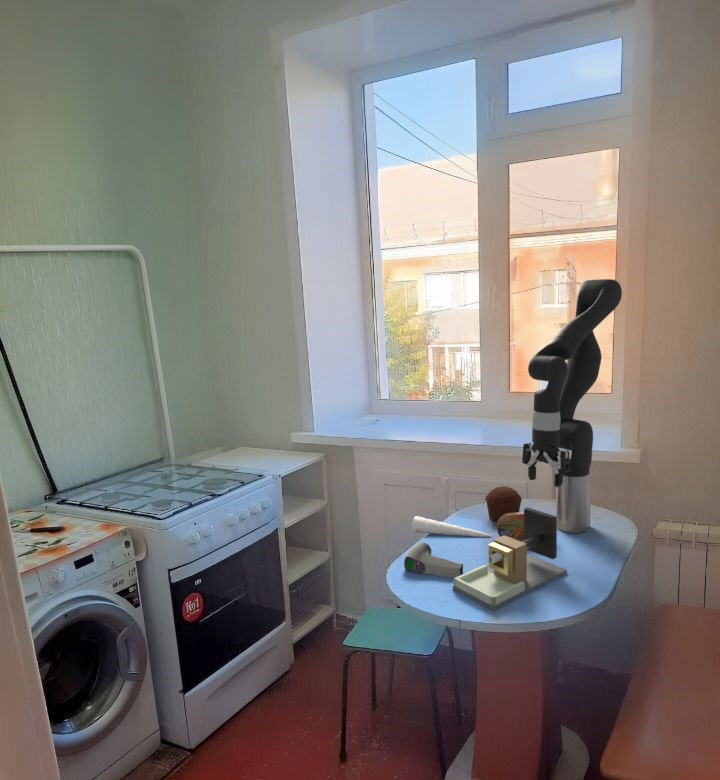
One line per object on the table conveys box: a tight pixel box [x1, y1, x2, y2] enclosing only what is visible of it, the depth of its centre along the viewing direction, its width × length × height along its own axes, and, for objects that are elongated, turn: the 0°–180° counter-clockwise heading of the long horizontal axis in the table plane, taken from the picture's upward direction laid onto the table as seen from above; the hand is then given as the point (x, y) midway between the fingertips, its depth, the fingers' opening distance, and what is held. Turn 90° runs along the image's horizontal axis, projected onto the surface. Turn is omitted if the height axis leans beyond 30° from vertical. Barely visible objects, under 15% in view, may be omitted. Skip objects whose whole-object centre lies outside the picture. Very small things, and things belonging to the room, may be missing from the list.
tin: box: [496, 511, 524, 542], centre depth 174 cm, size 15×3×8 cm, turn 92°
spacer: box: [488, 541, 513, 576], centre depth 147 cm, size 2×6×6 cm, turn 36°
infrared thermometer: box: [403, 541, 464, 579], centre depth 161 cm, size 5×12×15 cm
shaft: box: [488, 507, 558, 563], centre depth 151 cm, size 19×9×11 cm, turn 126°
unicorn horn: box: [411, 515, 492, 538], centre depth 180 cm, size 5×24×5 cm, turn 68°
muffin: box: [484, 485, 523, 523], centre depth 190 cm, size 12×11×10 cm
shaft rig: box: [452, 535, 567, 612], centre depth 150 cm, size 28×13×11 cm, turn 126°
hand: (544, 482), depth 171 cm, fingers open, 8 cm apart
